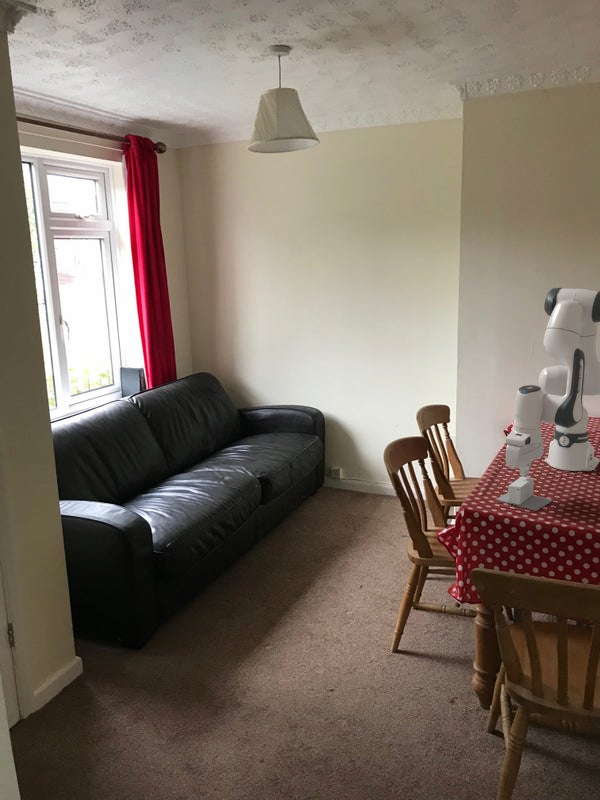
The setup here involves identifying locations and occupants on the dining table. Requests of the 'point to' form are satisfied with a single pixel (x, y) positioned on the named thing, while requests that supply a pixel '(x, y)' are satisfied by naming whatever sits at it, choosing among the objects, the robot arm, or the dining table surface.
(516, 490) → the skincare box
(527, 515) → the dining table surface
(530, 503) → the mat
